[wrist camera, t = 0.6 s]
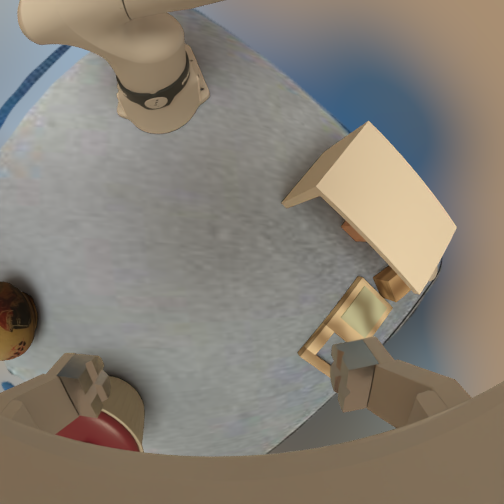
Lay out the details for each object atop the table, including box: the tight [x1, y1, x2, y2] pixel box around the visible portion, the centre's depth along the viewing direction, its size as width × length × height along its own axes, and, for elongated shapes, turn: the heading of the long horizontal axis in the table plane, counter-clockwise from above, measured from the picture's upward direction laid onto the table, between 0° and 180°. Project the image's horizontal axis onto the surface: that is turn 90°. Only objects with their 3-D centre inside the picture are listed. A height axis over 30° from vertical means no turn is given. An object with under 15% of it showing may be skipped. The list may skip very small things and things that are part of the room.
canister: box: [55, 376, 145, 452], centre depth 41 cm, size 18×18×21 cm
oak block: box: [373, 266, 411, 302], centre depth 55 cm, size 5×5×6 cm
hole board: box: [298, 276, 393, 377], centre depth 56 cm, size 20×11×2 cm, turn 140°
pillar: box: [341, 221, 367, 242], centre depth 50 cm, size 4×4×13 cm
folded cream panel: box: [281, 121, 457, 295], centre depth 47 cm, size 14×24×18 cm, turn 50°
